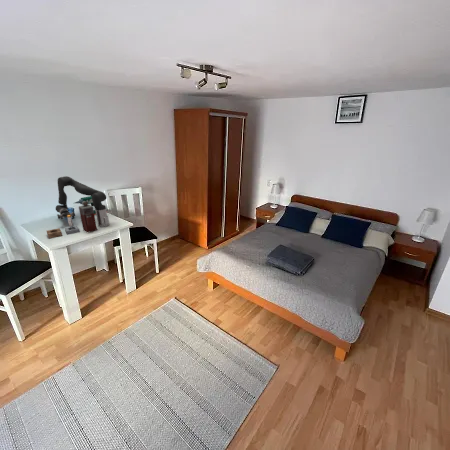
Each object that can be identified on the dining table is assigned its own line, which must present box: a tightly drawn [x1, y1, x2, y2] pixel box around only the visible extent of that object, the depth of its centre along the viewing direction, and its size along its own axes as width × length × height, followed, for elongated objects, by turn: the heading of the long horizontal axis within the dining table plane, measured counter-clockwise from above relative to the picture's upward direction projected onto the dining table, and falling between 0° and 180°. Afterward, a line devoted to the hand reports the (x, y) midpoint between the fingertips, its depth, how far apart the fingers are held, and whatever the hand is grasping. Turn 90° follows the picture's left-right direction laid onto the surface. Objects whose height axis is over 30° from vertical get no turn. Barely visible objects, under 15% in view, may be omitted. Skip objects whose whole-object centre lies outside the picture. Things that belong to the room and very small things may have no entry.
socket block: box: [64, 225, 80, 235], centre depth 224 cm, size 10×10×3 cm
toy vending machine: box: [78, 201, 98, 233], centre depth 223 cm, size 9×11×28 cm
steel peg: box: [66, 215, 75, 230], centre depth 221 cm, size 3×3×16 cm
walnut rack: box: [46, 227, 63, 239], centre depth 215 cm, size 10×10×4 cm
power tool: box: [74, 195, 108, 216], centre depth 264 cm, size 32×7×20 cm, turn 143°
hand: (67, 217), depth 228 cm, fingers open, 8 cm apart
